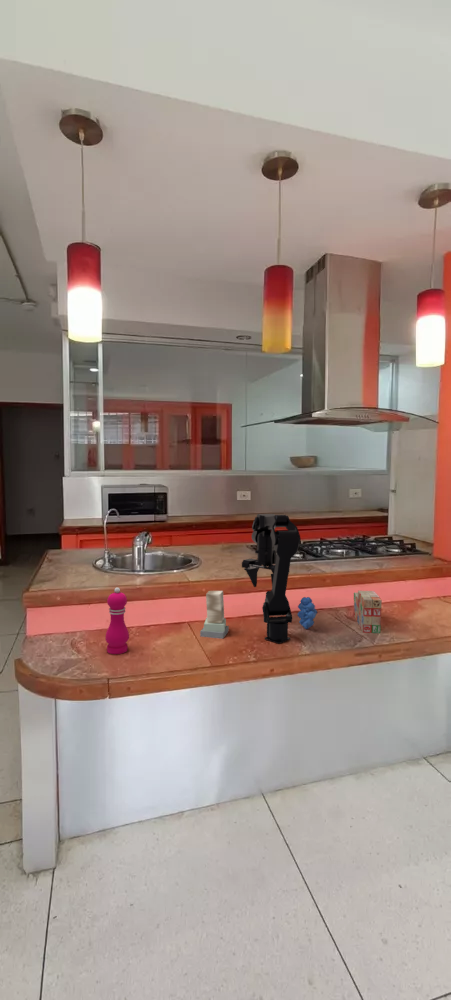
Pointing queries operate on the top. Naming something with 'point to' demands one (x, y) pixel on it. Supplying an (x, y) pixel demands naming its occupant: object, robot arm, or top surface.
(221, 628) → the tower top block
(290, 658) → the top surface
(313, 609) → the grapes
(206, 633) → the tower base block
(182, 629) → the top surface
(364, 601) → the stack of blocks
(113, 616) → the pepper mill
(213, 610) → the ash pillar
